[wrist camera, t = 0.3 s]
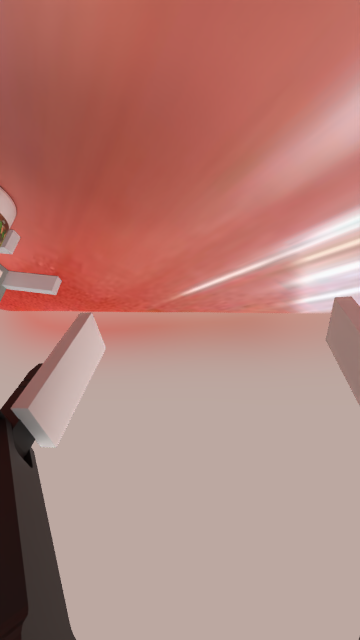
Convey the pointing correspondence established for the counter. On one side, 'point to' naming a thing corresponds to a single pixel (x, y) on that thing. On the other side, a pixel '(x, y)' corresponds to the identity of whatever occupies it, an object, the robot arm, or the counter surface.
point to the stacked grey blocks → (24, 281)
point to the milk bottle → (6, 214)
